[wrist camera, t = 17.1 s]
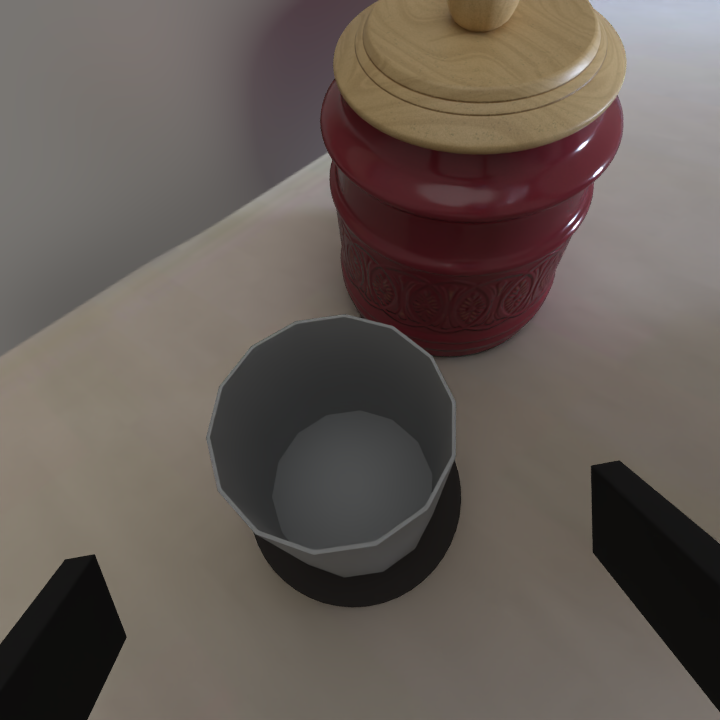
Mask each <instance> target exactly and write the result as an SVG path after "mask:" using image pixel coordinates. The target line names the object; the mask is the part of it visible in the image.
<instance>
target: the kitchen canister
mask: <svg viewBox="0 0 720 720" xmlns="http://www.w3.org/2000/svg"><path fill="white" fill-rule="evenodd" d="M333 67H334V75H335V79H334V80H333V82H332V83H331V85H330V87H329V88H328V90H327V93H326V95H325V97H324V101H323V104H322V109H321V118H320V123H321V132H322V137H323V140H324V144H325V146H326V149H327V151H328V153H329V155H330V157H331V158H332V163H331V168H330V189H331V195H332V198H333V202H334V204H335V207H336V209H337V216H338V223H339V230H340V237H341V245H342V247H341V266H342V272H343V278H344V282H345V286H346V288H347V291H348V293H349V295H350V297H351V299H352V301H353V302H354V305H355V307H356V309H357V310H358V312H359V313H360V315H361V316H362V318H363V319H367V320H371V321H375V322H379V323H383V324H387V325H391V326H394V327H395V328H396V329H398V330H399V331H400V332H402V333H403V334H404V335H406V336H407V337H408V338H410V339H411V340H412V341H413V342H415V343H416V344H417V345H419V346H420V347H421V348H423V349H424V350H425V351H427V352H428V353H429V354H430V355H434V356H463V355H469V354H474V353H478V352H482V351H485V350H488V349H490V348H493V347H495V346H497V345H499V344H501V343H503V342H505V341H506V340H508V339H509V338H511V337H512V336H514V335H515V334H516V333H517V332H518V331H519V330H520V329H521V328H522V327H523V326H524V325H525V324H526V323H528V322H529V321H530V320H531V319H532V318H533V316H534V315H535V314H536V313H537V312H538V310H539V309H540V307H541V306H542V304H543V302H544V301H545V299H546V296H547V295H548V293H549V291H550V289H551V286H552V284H553V280H554V277H555V272H556V268H557V266H558V264H559V262H560V260H561V258H562V255H563V253H564V251H565V249H566V247H567V245H568V243H569V241H570V239H571V236H572V235H573V234H574V233H575V231H576V230H577V229H578V228H579V226H580V225H581V223H582V222H583V220H584V218H585V216H586V214H587V212H588V210H589V207H590V204H591V201H592V197H593V190H594V181H595V180H596V179H598V178H599V177H600V176H601V174H602V173H603V172H604V171H605V170H606V169H607V167H608V166H609V164H610V163H611V161H612V160H613V158H614V156H615V154H616V153H617V150H618V148H619V145H620V142H621V138H622V133H623V111H622V107H621V103H620V100H619V97H618V93H619V91H620V89H621V86H622V84H623V81H624V78H625V73H626V54H625V50H624V46H623V44H622V41H621V39H620V37H619V35H618V34H617V32H616V31H615V29H614V28H613V27H612V25H611V24H610V23H609V22H608V21H607V20H606V19H605V18H604V17H603V16H602V15H601V14H600V13H599V12H597V11H596V10H595V9H593V7H592V5H591V4H590V3H589V1H588V0H378V1H377V2H375V3H373V4H372V5H370V6H369V7H368V8H366V9H365V10H364V11H362V12H361V13H360V14H359V15H358V16H356V17H355V18H354V19H353V20H352V22H351V23H350V24H349V25H348V26H347V27H346V29H345V30H344V32H343V33H342V35H341V37H340V39H339V41H338V43H337V46H336V49H335V53H334V62H333Z"/></svg>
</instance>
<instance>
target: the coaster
mask: <svg viewBox="0 0 720 720" xmlns="http://www.w3.org/2000/svg"><path fill="white" fill-rule="evenodd" d="M460 505H461V487H460V481H459V475H458V470H457V467H456V464H455V460H454V462H453V465H452V467H451V470H450V472H449V475H448V477H447V480H446V482H445V485H444V487H443V490H442V493H441V495H440V498H439V500H438V503H437V505H436V508H435V510H434V513H433V515H432V517H431V519H430V521H429V523H428V525H427V527H426V529H425V531H424V532H423V534H422V536H421V538H420V540H419V542H418V544H417V546H416V548H415V549H414V550H413V551H411V552H410V553H409V554H407V555H406V556H404V557H403V558H402V559H400V560H399V561H397V562H396V563H395V564H393V565H392V566H391V567H389V568H388V569H386V570H385V571H384V572H379V573H372V574H365V575H358V576H351V577H345V578H344V577H341V576H339V575H336V574H333V573H330V572H328V571H325V570H322V569H319V568H317V567H314V566H311V565H308V564H306V563H305V562H303V561H301V560H300V559H298V558H296V557H294V556H293V555H291V554H289V553H287V552H286V551H284V550H282V549H281V548H279V547H277V546H275V545H274V544H272V543H270V542H268V541H267V540H265V539H263V538H261V537H260V536H258V535H256V534H255V533H254V535H255V538H256V540H257V543H258V546H259V547H260V549H261V551H262V553H263V555H264V557H265V559H266V560H267V561H268V563H269V564H270V566H271V567H272V568H273V570H274V571H275V572H276V573H277V574H278V575H279V576H280V577H281V578H282V579H283V580H284V581H285V582H286V583H288V584H289V585H290V586H292V587H293V588H294V589H295V590H297V591H299V592H301V593H302V594H304V595H306V596H308V597H310V598H312V599H315V600H317V601H320V602H323V603H327V604H331V605H336V606H344V607H363V606H371V605H376V604H380V603H384V602H387V601H389V600H392V599H395V598H397V597H399V596H401V595H403V594H405V593H406V592H408V591H410V590H412V589H413V588H414V587H415V586H417V585H418V584H419V583H421V582H422V581H423V580H424V579H425V578H426V577H427V576H428V575H429V574H430V573H431V572H432V571H433V570H434V569H435V568H436V566H437V565H438V564H439V562H440V561H441V560H442V558H443V557H444V555H445V553H446V551H447V550H448V548H449V546H450V544H451V542H452V539H453V537H454V534H455V531H456V528H457V524H458V520H459V515H460Z"/></svg>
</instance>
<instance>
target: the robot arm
mask: <svg viewBox="0 0 720 720" xmlns="http://www.w3.org/2000/svg"><path fill="white" fill-rule="evenodd" d="M591 488H592V537H593V553H594V554H595V556H596V557H597V558H598V559H599V561H600V562H601V563H602V564H603V566H604V567H605V568H606V570H607V571H608V572H609V573H610V575H611V576H612V577H613V578H614V580H615V581H616V582H617V583H618V585H619V586H620V587H621V588H622V590H623V591H624V592H625V593H626V595H627V596H628V597H629V598H630V600H631V601H632V602H633V603H634V605H635V606H636V607H637V608H638V610H639V611H640V612H641V614H642V615H643V616H644V617H645V619H646V620H647V621H648V622H649V624H650V625H651V626H652V627H653V629H654V630H655V631H656V632H657V634H658V635H659V636H660V637H661V639H662V640H663V641H664V642H665V644H666V645H667V646H668V647H669V649H670V650H671V651H672V652H673V654H674V655H675V656H676V658H677V659H678V660H679V661H680V663H681V664H682V665H683V666H684V668H685V669H686V670H687V671H688V673H689V674H690V675H691V676H692V678H693V679H694V680H695V681H696V683H697V684H698V685H699V686H700V688H701V689H702V690H703V691H704V693H705V694H706V695H707V696H708V698H709V699H710V700H711V702H712V703H713V704H714V705H715V707H716V708H717V709H718V710H719V712H720V544H719V543H718V542H717V541H716V540H715V539H713V538H712V537H711V536H710V535H709V534H707V533H706V532H705V531H704V530H703V529H701V528H700V527H699V526H698V525H697V524H695V523H694V522H693V521H692V520H691V519H689V518H688V517H687V516H686V515H684V514H683V513H682V512H681V511H680V510H678V509H677V508H676V507H675V506H674V505H672V504H671V503H670V502H669V501H668V500H666V499H665V498H664V497H663V496H662V495H660V494H659V493H658V492H657V491H656V490H654V489H653V488H652V487H651V486H650V485H648V484H647V483H646V482H645V481H643V480H642V479H641V478H640V477H639V476H637V475H636V474H635V473H634V472H633V471H631V470H630V469H629V468H628V467H627V466H625V465H624V464H623V463H622V462H621V461H614V462H609V463H603V464H598V465H592V466H591ZM126 638H127V637H126V634H125V631H124V629H123V626H122V624H121V621H120V618H119V616H118V613H117V611H116V608H115V606H114V603H113V600H112V598H111V595H110V593H109V590H108V587H107V585H106V582H105V580H104V577H103V575H102V572H101V569H100V567H99V564H98V562H97V559H96V556H95V554H94V555H88V556H83V557H77V558H71V559H66V560H64V562H63V563H62V564H61V566H60V567H59V568H58V570H57V571H56V572H55V574H54V575H53V576H52V577H51V579H50V580H49V581H48V583H47V584H46V585H45V587H44V588H43V589H42V590H41V592H40V593H39V594H38V596H37V597H36V598H35V600H34V601H33V602H32V604H31V605H30V606H29V607H28V609H27V610H26V611H25V613H24V614H23V615H22V617H21V618H20V619H19V621H18V622H17V623H16V624H15V626H14V627H13V628H12V630H11V631H10V632H9V634H8V635H7V636H6V638H5V639H4V640H3V641H2V643H1V644H0V720H87V719H88V717H89V715H90V713H91V711H92V709H93V707H94V705H95V702H96V700H97V698H98V696H99V694H100V692H101V690H102V688H103V686H104V684H105V682H106V679H107V677H108V675H109V673H110V671H111V669H112V667H113V665H114V663H115V661H116V658H117V656H118V654H119V652H120V650H121V648H122V646H123V644H124V642H125V640H126Z"/></svg>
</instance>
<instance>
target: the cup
mask: <svg viewBox="0 0 720 720" xmlns="http://www.w3.org/2000/svg"><path fill="white" fill-rule="evenodd" d="M206 440H207V444H208V449H209V453H210V458H211V462H212V467H213V471H214V476H215V480H216V485H217V490H218V492H219V493H220V494H221V495H222V496H223V497H224V499H225V500H226V501H227V502H228V503H229V504H230V505H231V507H232V508H233V509H234V510H235V511H236V512H237V513H238V515H239V516H240V517H241V518H242V519H243V520H244V521H245V523H246V524H247V525H248V526H249V527H250V528H251V529H252V531H253V532H254V533H255V534H256V535H258V536H260V537H261V538H263V539H265V540H267V541H268V542H270V543H272V544H274V545H275V546H277V547H279V548H281V549H282V550H284V551H286V552H287V553H289V554H291V555H293V556H294V557H296V558H298V559H300V560H301V561H303V562H305V563H306V564H308V565H311V566H314V567H317V568H319V569H322V570H325V571H328V572H330V573H333V574H336V575H339V576H341V577H344V578H345V577H351V576H358V575H365V574H372V573H379V572H384V571H385V570H386V569H388V568H389V567H391V566H392V565H393V564H395V563H396V562H397V561H399V560H400V559H402V558H403V557H404V556H406V555H407V554H409V553H410V552H411V551H413V550H414V549H415V548H416V546H417V544H418V542H419V540H420V538H421V536H422V534H423V532H424V531H425V529H426V527H427V525H428V523H429V521H430V519H431V517H432V515H433V513H434V510H435V508H436V505H437V503H438V500H439V498H440V495H441V493H442V490H443V487H444V485H445V482H446V480H447V477H448V475H449V472H450V470H451V467H452V465H453V462H454V460H455V457H456V401H455V399H454V397H453V395H452V393H451V391H450V389H449V387H448V385H447V383H446V381H445V379H444V377H443V376H442V374H441V372H440V370H439V368H438V366H437V364H436V362H435V360H434V358H433V356H432V355H430V354H429V353H428V352H427V351H425V350H424V349H423V348H421V347H420V346H419V345H417V344H416V343H415V342H413V341H412V340H411V339H410V338H408V337H407V336H406V335H404V334H403V333H402V332H400V331H399V330H398V329H396V328H395V327H394V326H391V325H387V324H383V323H379V322H375V321H371V320H367V319H363V318H359V317H355V316H351V315H346V314H343V315H336V316H329V317H322V318H315V319H308V320H301V321H295V322H293V323H292V324H290V325H288V326H286V327H284V328H283V329H281V330H279V331H277V332H276V333H274V334H272V335H270V336H269V337H267V338H265V339H263V340H261V341H260V342H258V343H256V344H254V345H253V346H251V347H250V348H249V350H248V351H247V352H246V354H245V355H244V356H243V357H242V359H241V360H240V361H239V362H238V364H237V365H236V366H235V367H234V369H233V370H232V371H231V372H230V374H229V375H228V376H227V377H226V379H225V380H224V381H223V383H222V384H221V385H220V386H219V389H218V393H217V397H216V401H215V405H214V409H213V413H212V417H211V421H210V425H209V428H208V432H207V436H206Z"/></svg>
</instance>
